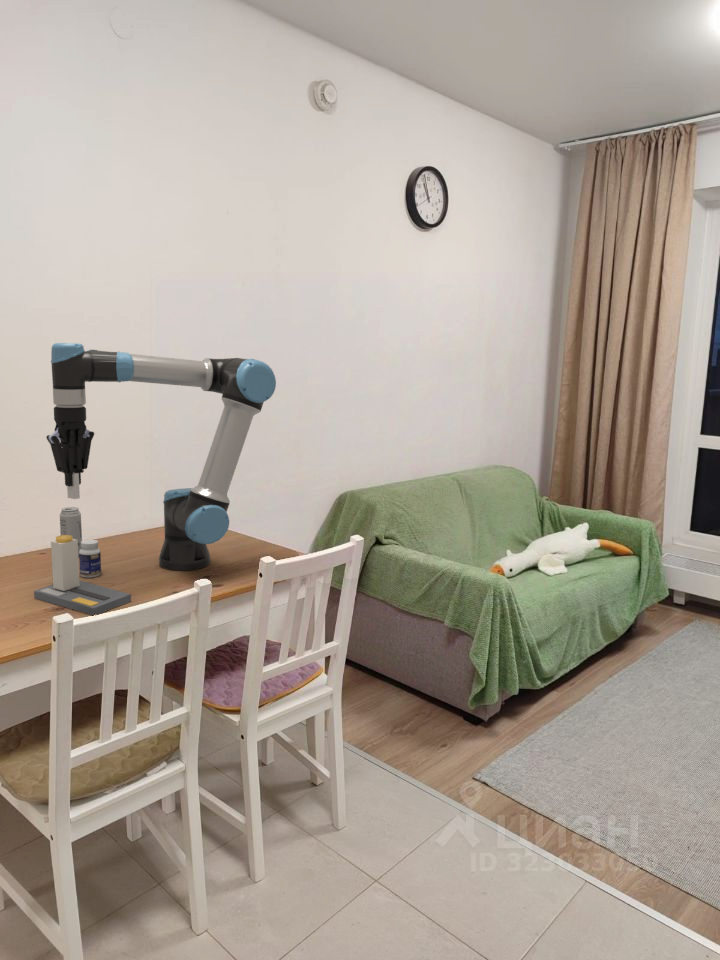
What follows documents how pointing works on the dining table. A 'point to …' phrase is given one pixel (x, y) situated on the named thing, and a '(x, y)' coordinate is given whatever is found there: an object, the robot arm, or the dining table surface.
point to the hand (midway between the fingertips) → (73, 497)
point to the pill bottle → (90, 559)
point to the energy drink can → (71, 524)
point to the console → (84, 597)
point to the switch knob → (65, 562)
